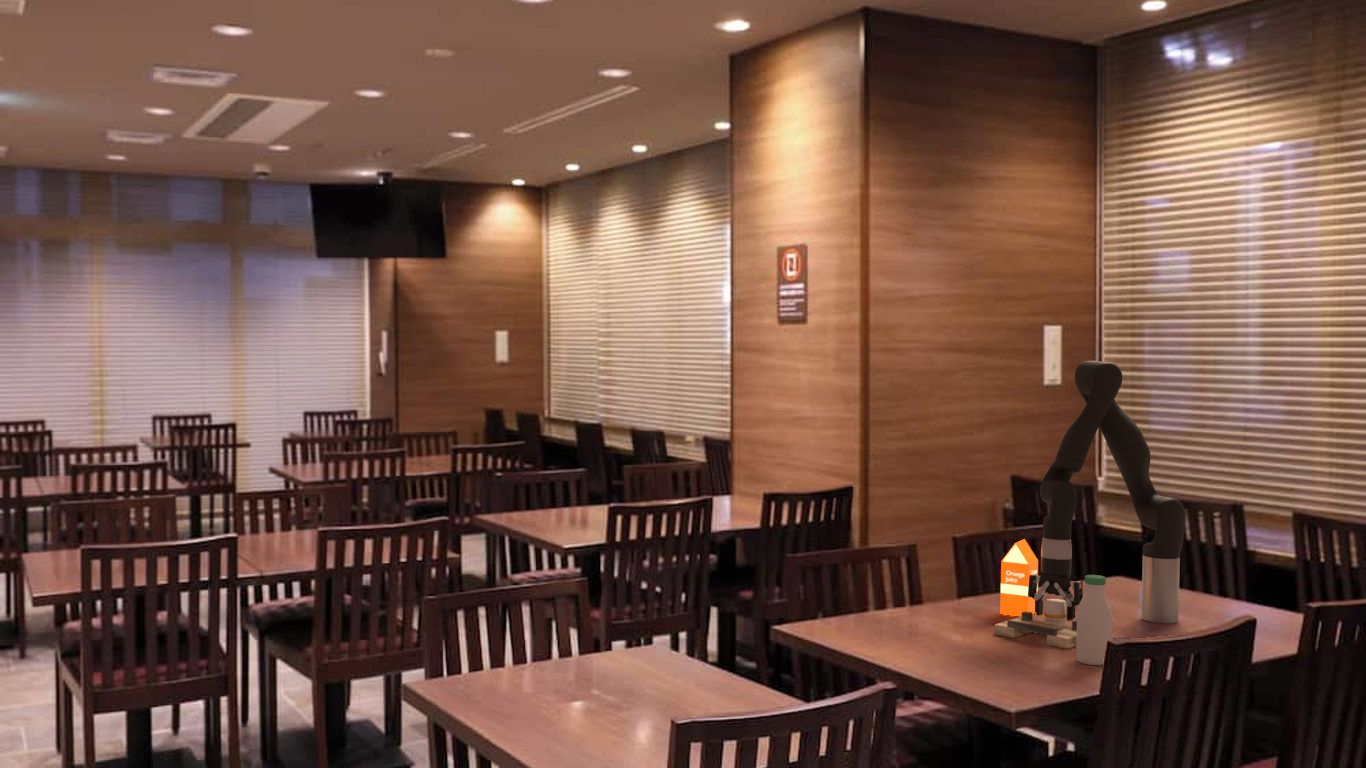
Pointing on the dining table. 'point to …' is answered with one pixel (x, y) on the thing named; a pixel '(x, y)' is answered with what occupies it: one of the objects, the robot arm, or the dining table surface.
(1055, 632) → the shelf board
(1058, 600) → the orange-banded white cylinder
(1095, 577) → the milk bottle
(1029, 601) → the orange juice
